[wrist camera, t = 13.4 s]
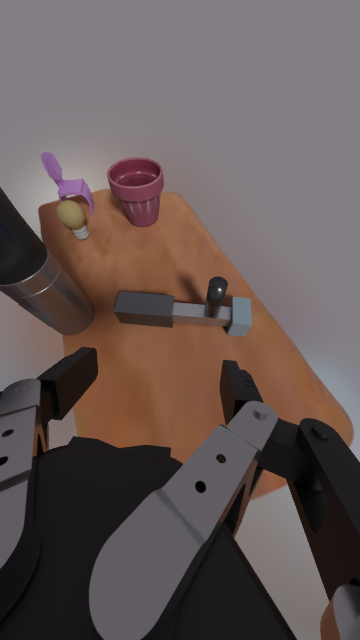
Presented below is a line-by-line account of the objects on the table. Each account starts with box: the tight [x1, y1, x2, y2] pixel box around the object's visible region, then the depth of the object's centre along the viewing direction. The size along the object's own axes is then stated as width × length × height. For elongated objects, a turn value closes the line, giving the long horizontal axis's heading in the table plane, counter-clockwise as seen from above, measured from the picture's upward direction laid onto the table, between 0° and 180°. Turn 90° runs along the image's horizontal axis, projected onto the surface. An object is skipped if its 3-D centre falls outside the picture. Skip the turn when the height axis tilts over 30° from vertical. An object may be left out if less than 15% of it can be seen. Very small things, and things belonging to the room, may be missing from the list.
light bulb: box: [56, 200, 89, 240], centre depth 52 cm, size 6×6×10 cm
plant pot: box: [107, 157, 164, 227], centre depth 55 cm, size 14×14×13 cm
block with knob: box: [172, 277, 232, 327], centre depth 37 cm, size 18×3×12 cm, turn 84°
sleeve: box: [114, 291, 175, 328], centre depth 42 cm, size 12×5×5 cm, turn 84°
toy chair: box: [41, 152, 94, 215], centre depth 56 cm, size 8×9×15 cm
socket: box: [227, 297, 252, 336], centre depth 40 cm, size 4×6×6 cm, turn 174°
